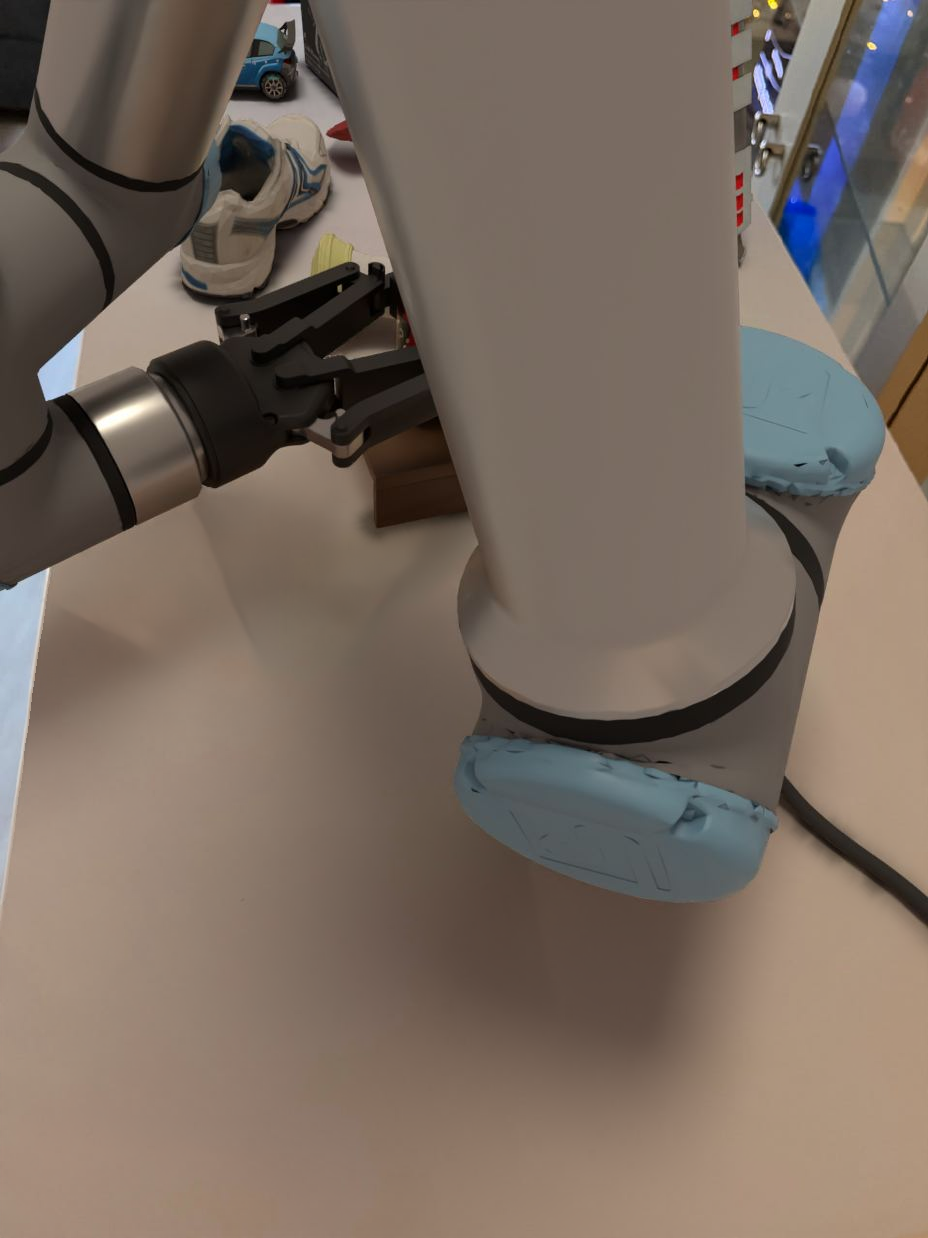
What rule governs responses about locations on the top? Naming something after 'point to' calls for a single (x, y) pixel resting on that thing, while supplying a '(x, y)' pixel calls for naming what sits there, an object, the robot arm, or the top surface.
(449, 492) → the wooden display riser
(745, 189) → the toy gun
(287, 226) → the athletic shoe
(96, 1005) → the top surface
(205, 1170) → the top surface
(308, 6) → the box
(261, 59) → the toy car
